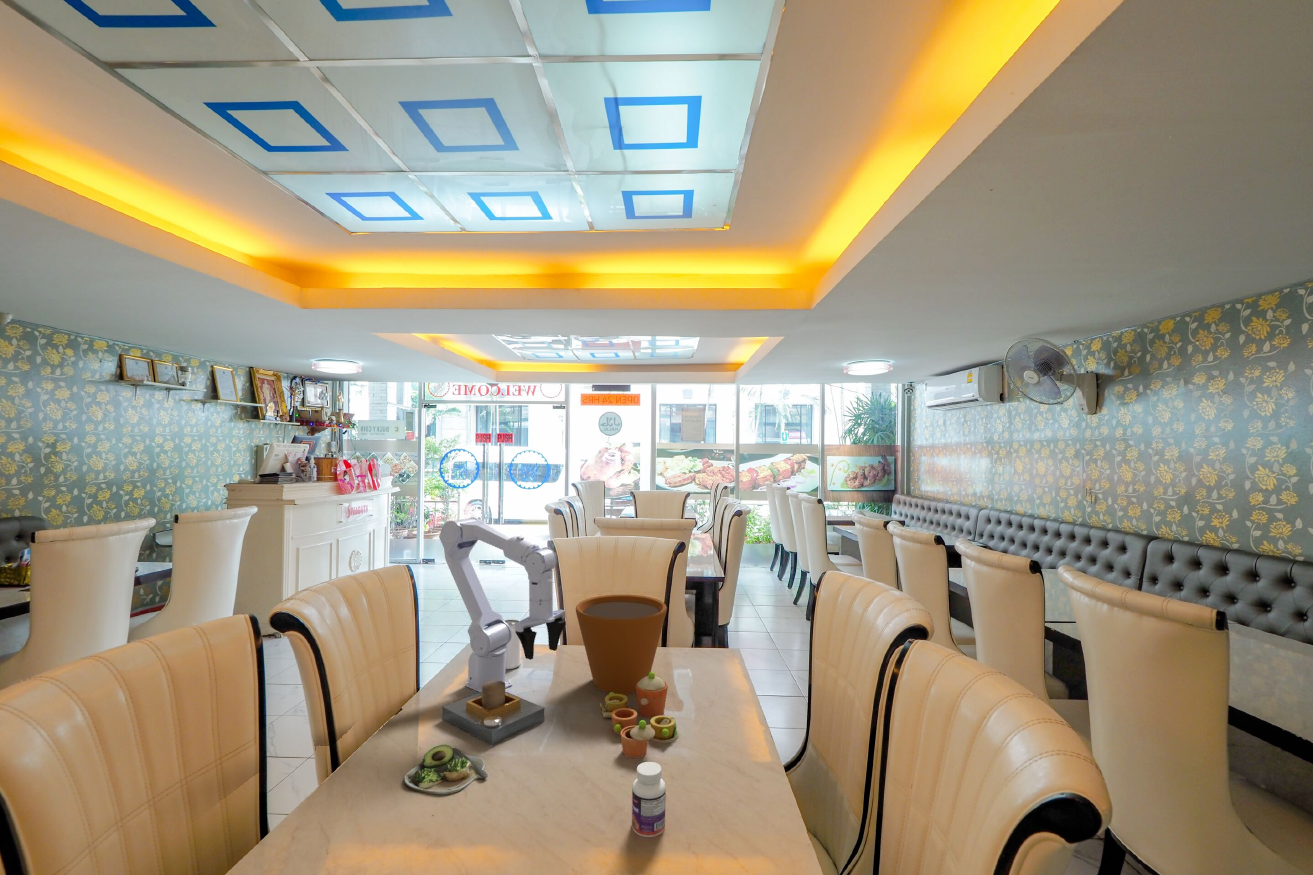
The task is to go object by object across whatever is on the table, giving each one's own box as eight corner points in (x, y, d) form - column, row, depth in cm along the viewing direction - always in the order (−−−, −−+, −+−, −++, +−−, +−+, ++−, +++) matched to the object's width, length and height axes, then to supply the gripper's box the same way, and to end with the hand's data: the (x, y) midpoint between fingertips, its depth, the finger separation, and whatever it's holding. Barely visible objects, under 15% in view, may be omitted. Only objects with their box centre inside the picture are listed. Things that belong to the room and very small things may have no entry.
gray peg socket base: (442, 720, 129) (442, 699, 129) (494, 699, 140) (494, 680, 141) (491, 746, 118) (492, 724, 118) (544, 721, 129) (544, 700, 130)
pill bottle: (631, 818, 96) (631, 759, 96) (663, 817, 96) (664, 758, 96) (632, 840, 90) (633, 778, 91) (666, 839, 91) (667, 776, 91)
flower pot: (556, 680, 152) (558, 604, 153) (626, 659, 168) (627, 590, 169) (612, 711, 135) (613, 625, 135) (684, 684, 151) (685, 607, 151)
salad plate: (506, 766, 112) (506, 747, 112) (460, 806, 99) (461, 786, 99) (443, 752, 117) (444, 734, 117) (392, 788, 104) (393, 769, 104)
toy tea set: (597, 707, 137) (597, 667, 137) (660, 701, 141) (660, 661, 141) (617, 767, 112) (618, 716, 112) (694, 757, 116) (694, 708, 116)
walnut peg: (476, 721, 129) (477, 685, 129) (495, 713, 133) (496, 678, 133) (490, 728, 126) (491, 691, 126) (509, 720, 130) (509, 684, 130)
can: (523, 661, 165) (524, 619, 165) (516, 670, 159) (516, 626, 159) (501, 660, 166) (502, 618, 166) (493, 669, 159) (494, 625, 160)
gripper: (528, 607, 135) (528, 666, 134) (573, 594, 146) (574, 649, 146) (509, 602, 139) (509, 659, 139) (554, 591, 150) (555, 643, 150)
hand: (541, 653), depth 142 cm, fingers open, 7 cm apart
